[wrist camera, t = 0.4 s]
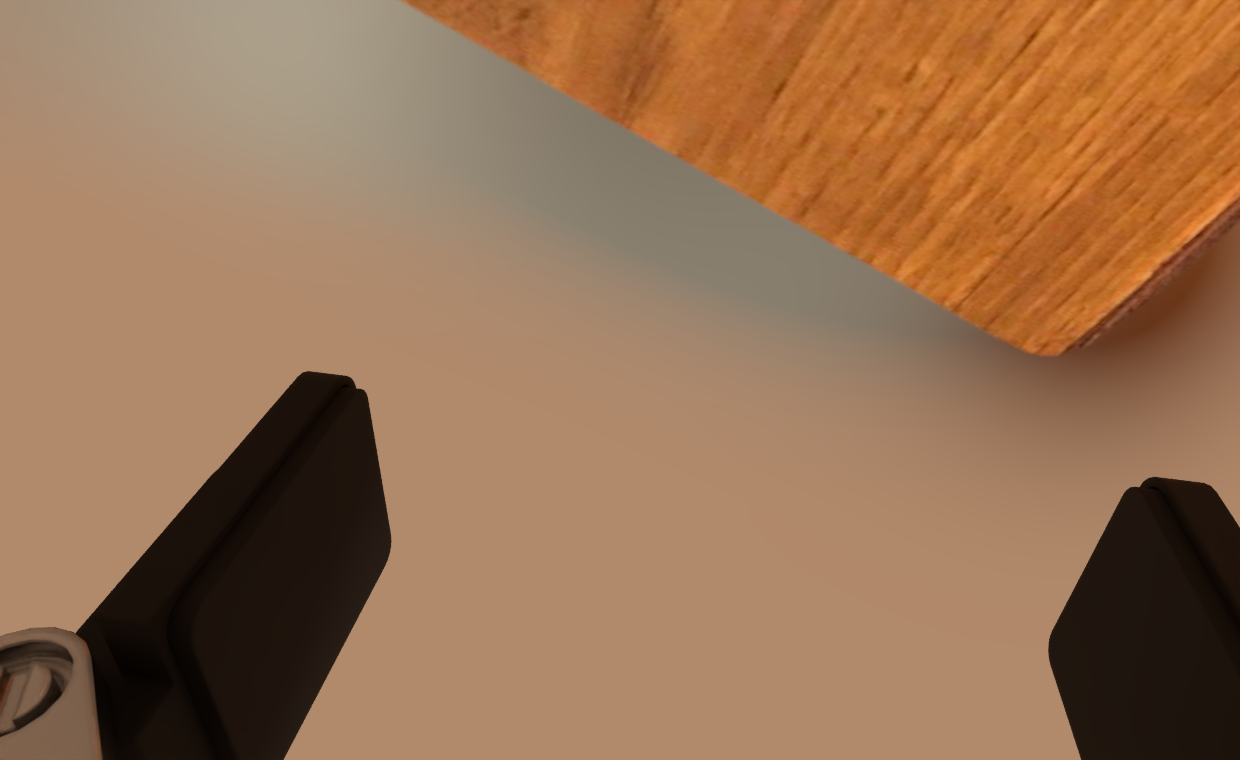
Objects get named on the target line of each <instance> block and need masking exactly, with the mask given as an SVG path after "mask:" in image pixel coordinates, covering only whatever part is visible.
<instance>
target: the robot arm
mask: <svg viewBox="0 0 1240 760" xmlns="http://www.w3.org/2000/svg"><path fill="white" fill-rule="evenodd" d="M390 549H391V533H390V526H389V520H388V515H387V508H386V503H385V497H384V491H383V485H382V479H381V473H380V467H379V461H378V455H377V449H376V444H375V438H374V432H373V426H372V420H371V414H370V408H369V402H368V397H367V394H366V392H365V391H364V390H362V389H356V386H355V383H354V381H353V380H352V379H351V378H350V377H348V376H343V375H335V374H327V373H319V372H310V371H307V372H303V373H302V374H301V375H299V376H298V377H297V378H296V380H295V381H294V382H293V383H292V384H291V385H290V386H289V388H288V389H287V390H286V391H285V392H284V393H283V395H282V396H281V397H280V398H279V399H278V400H277V402H276V403H275V404H274V405H273V406H272V407H271V409H270V410H269V411H268V412H267V413H266V414H265V415H264V417H263V418H262V419H261V420H260V421H259V422H258V424H257V425H256V426H255V427H254V429H252V431H251V432H250V433H249V434H248V435H247V436H246V438H245V439H244V440H243V441H242V442H241V443H240V445H239V446H238V447H237V448H236V449H235V450H234V452H233V453H232V454H231V455H230V456H229V457H228V459H227V460H226V461H225V462H224V463H223V464H222V466H221V467H220V468H219V469H218V470H217V471H216V472H214V473H213V474H212V475H211V476H210V478H209V479H208V480H207V481H206V482H205V483H204V485H203V486H202V487H201V488H200V489H199V490H198V492H197V493H196V494H195V495H194V496H193V497H192V498H191V500H190V501H189V502H188V503H187V504H186V505H185V507H184V508H183V509H182V510H181V511H180V512H179V514H178V515H177V516H176V517H175V518H174V519H173V521H172V522H171V523H170V524H169V525H168V526H167V528H166V529H165V530H164V531H163V532H162V533H161V534H160V536H159V537H158V538H157V539H156V540H155V541H154V543H153V544H152V545H151V546H150V547H149V548H148V550H147V551H146V552H145V553H144V554H143V555H142V557H141V558H140V559H139V560H138V561H137V562H136V564H135V565H134V566H133V567H132V568H131V569H130V570H129V572H128V573H127V574H126V575H125V576H124V578H123V579H122V580H121V581H120V582H119V583H118V584H117V586H116V587H115V588H114V589H113V591H111V593H110V594H109V595H108V596H107V597H106V598H105V600H104V601H103V602H102V603H101V604H100V605H99V606H98V608H97V609H96V610H95V611H94V612H93V613H92V615H91V616H90V617H89V618H88V619H87V620H86V621H85V623H84V624H83V625H82V626H81V627H80V628H79V630H78V631H77V632H76V633H74V632H71V631H67V630H63V629H59V628H55V627H48V628H47V627H46V628H29V629H25V630H21V631H17V632H13V633H9V634H5V635H3V636H1V637H0V760H284V758H285V756H286V754H287V752H288V750H289V748H290V746H291V744H292V742H293V741H294V739H295V737H296V735H297V733H298V731H299V729H300V727H301V725H302V723H303V721H304V720H305V718H306V716H307V714H308V712H309V710H310V708H311V706H312V704H313V702H314V700H315V699H316V697H317V695H318V693H319V691H320V689H321V687H322V685H323V683H324V681H325V680H326V678H327V675H328V674H329V671H330V670H331V668H332V666H333V664H334V662H335V660H336V658H337V656H338V655H339V653H340V651H341V649H342V647H343V645H344V643H345V641H346V639H347V637H348V636H349V634H350V632H351V630H352V628H353V626H354V624H355V622H356V620H357V618H358V617H359V614H360V613H361V611H362V609H363V607H364V605H365V603H366V601H367V599H368V598H369V596H370V594H371V592H372V590H373V588H374V586H375V584H376V582H377V580H378V578H379V577H380V575H381V573H382V571H383V569H384V567H385V565H386V562H387V560H388V557H389V554H390ZM1048 652H1049V660H1050V665H1051V668H1052V671H1053V674H1054V677H1055V680H1056V683H1057V686H1058V689H1059V693H1060V696H1061V699H1062V702H1063V705H1064V708H1065V711H1066V714H1067V717H1068V720H1069V723H1070V726H1071V729H1072V733H1073V736H1074V739H1075V742H1076V745H1077V748H1078V751H1079V754H1080V757H1081V760H1240V527H1239V526H1238V524H1237V523H1236V521H1235V520H1234V518H1233V516H1232V515H1231V514H1230V512H1229V510H1228V509H1227V507H1226V506H1225V504H1224V503H1223V501H1222V500H1221V498H1220V497H1219V495H1218V494H1217V492H1216V491H1215V490H1214V489H1213V488H1212V487H1211V486H1210V485H1207V484H1205V483H1200V482H1191V481H1184V480H1176V479H1167V478H1159V477H1152V478H1148V479H1147V480H1145V481H1144V482H1143V483H1142V485H1141V486H1140V487H1131V488H1129V489H1128V490H1126V492H1125V493H1124V494H1123V496H1122V498H1121V500H1120V502H1119V504H1118V506H1117V507H1116V509H1115V511H1114V513H1113V516H1112V517H1111V519H1110V521H1109V523H1108V525H1107V527H1106V529H1105V531H1104V533H1103V534H1102V536H1101V538H1100V540H1099V542H1098V544H1097V546H1096V548H1095V550H1094V552H1093V553H1092V556H1091V558H1090V559H1089V561H1088V563H1087V565H1086V567H1085V569H1084V571H1083V573H1082V575H1081V577H1080V579H1079V580H1078V582H1077V584H1076V586H1075V588H1074V590H1073V592H1072V594H1071V596H1070V598H1069V600H1068V602H1067V603H1066V605H1065V607H1064V609H1063V611H1062V613H1061V615H1060V617H1059V619H1058V621H1057V623H1056V625H1055V627H1054V629H1053V630H1052V633H1051V635H1050V639H1049V650H1048Z"/></svg>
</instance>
